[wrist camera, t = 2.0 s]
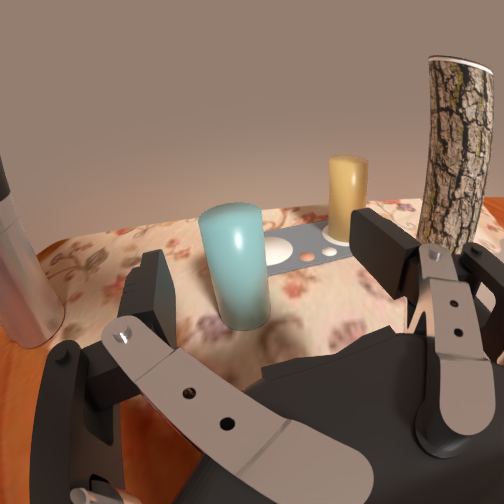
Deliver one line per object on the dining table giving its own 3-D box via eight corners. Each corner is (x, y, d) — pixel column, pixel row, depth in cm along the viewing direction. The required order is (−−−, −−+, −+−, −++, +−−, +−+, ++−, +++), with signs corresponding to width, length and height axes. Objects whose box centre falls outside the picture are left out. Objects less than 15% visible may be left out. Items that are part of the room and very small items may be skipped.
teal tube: (224, 335, 26) (200, 236, 20) (217, 301, 30) (196, 209, 24) (276, 323, 27) (269, 222, 21) (263, 291, 31) (253, 198, 25)
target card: (228, 284, 32) (227, 281, 32) (218, 243, 41) (217, 240, 40) (396, 244, 36) (397, 242, 35) (361, 215, 44) (361, 213, 44)
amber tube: (338, 245, 36) (341, 166, 30) (322, 228, 40) (322, 156, 35) (369, 238, 37) (376, 163, 31) (351, 223, 41) (354, 154, 35)
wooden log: (420, 306, 25) (457, 54, 12) (398, 269, 31) (415, 56, 18) (463, 297, 25) (505, 75, 11) (439, 264, 31) (463, 70, 17)
